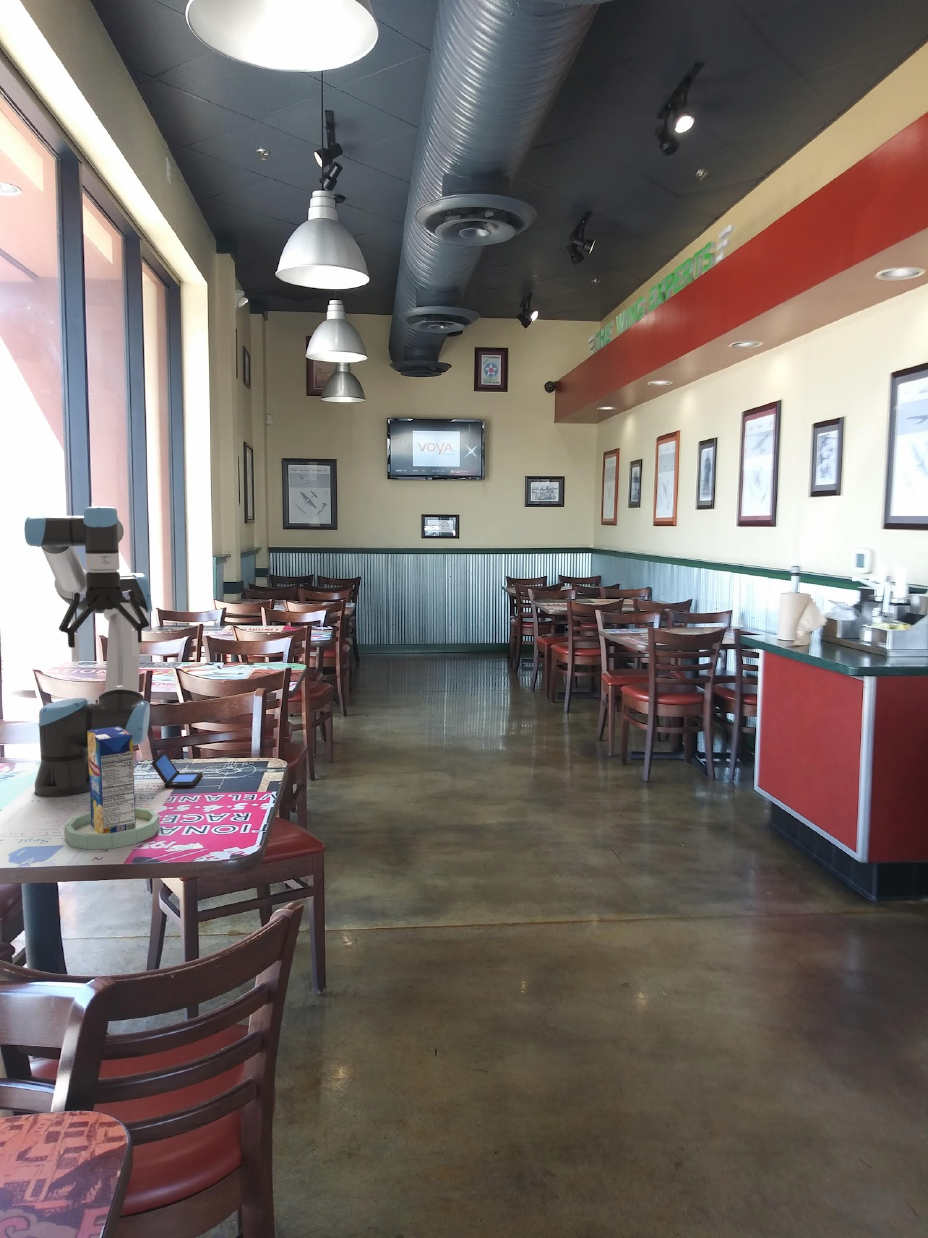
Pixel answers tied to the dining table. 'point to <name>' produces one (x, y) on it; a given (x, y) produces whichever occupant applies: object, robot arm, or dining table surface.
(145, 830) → the round tray
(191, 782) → the handheld game console
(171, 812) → the dining table surface
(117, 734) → the beverage box
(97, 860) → the dining table surface
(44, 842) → the dining table surface
